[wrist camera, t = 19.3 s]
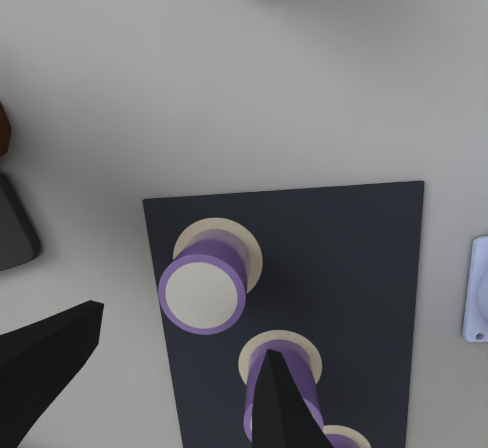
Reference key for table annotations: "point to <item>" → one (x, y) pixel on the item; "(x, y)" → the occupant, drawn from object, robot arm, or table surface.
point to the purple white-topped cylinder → (299, 371)
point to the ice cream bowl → (4, 132)
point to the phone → (14, 231)
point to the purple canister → (341, 441)
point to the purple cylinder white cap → (206, 283)
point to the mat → (302, 304)
